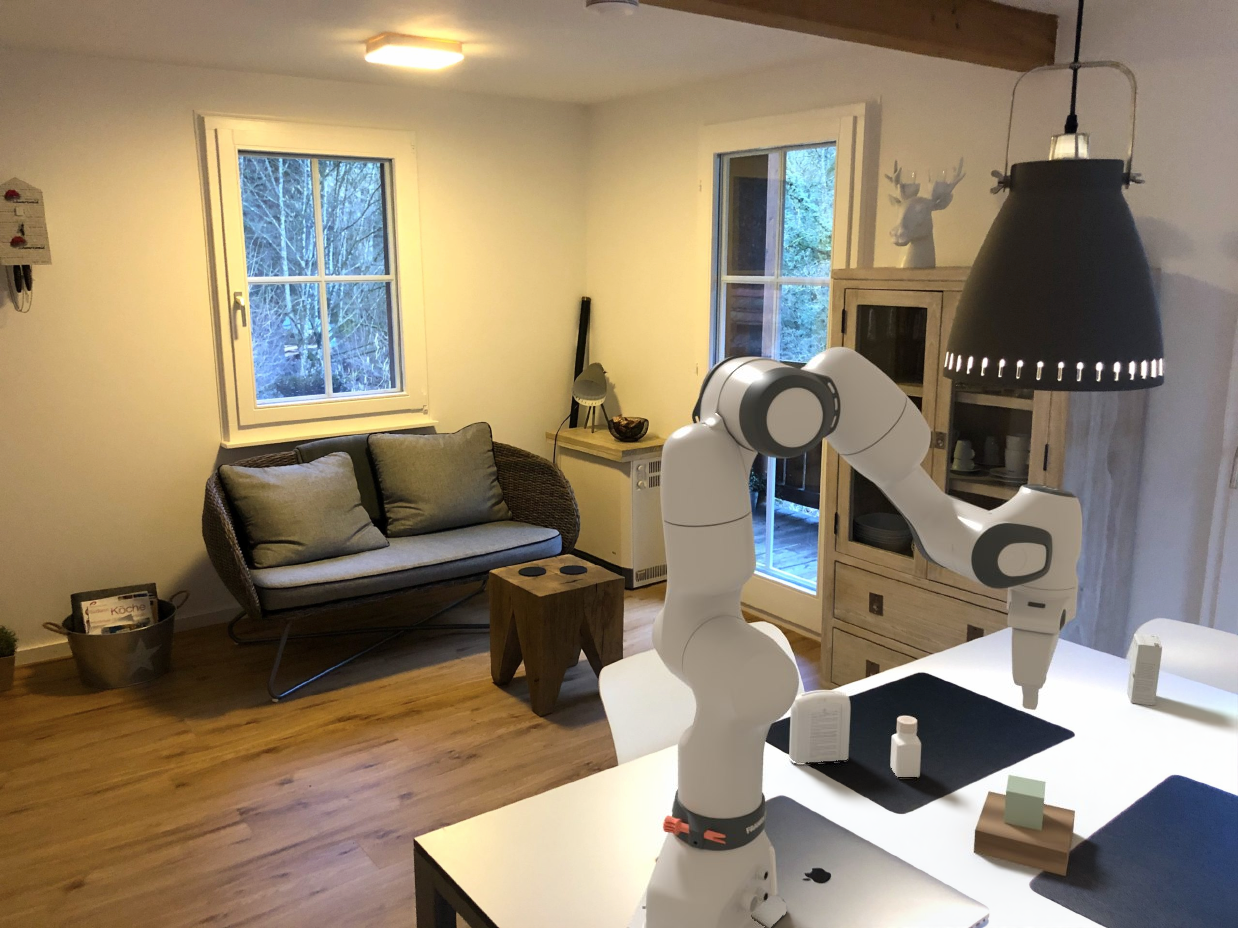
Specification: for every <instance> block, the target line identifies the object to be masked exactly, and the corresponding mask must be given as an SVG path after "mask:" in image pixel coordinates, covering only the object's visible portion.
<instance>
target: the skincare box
mask: <svg viewBox="0 0 1238 928" xmlns="http://www.w3.org/2000/svg"><path fill="white" fill-rule="evenodd" d="M1132 641H1133V642H1132V648H1131V658H1130V665H1129V667H1130V668H1129V674H1128V682H1127V689H1126V690H1127V696H1128V699H1129V702H1130V703H1132V704H1138V705H1143V706H1155V704H1156V699H1157V691H1158V682H1159V678H1160V677H1159V675H1160V670H1161V669H1160V668H1161V661H1162V654H1163V653H1162V651H1163V647H1162V644H1161V640H1160V639H1159V637H1158V635H1153V634H1152V635H1150V634H1139V633H1134V634H1133V640H1132Z"/></svg>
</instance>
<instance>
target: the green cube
mask: <svg viewBox="0 0 1238 928" xmlns="http://www.w3.org/2000/svg"><path fill="white" fill-rule="evenodd" d="M1045 793H1046V781H1042V780H1038V779H1032V778H1027V777H1022V776H1019V775H1012V774H1008V778H1007V784H1006V790H1005V795H1006V800H1005V814H1004V823H1007V824H1012V825H1017V826H1022V827H1027V828H1031V829H1036V830H1041V831H1042V821H1043V809H1044V804H1045Z"/></svg>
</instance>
